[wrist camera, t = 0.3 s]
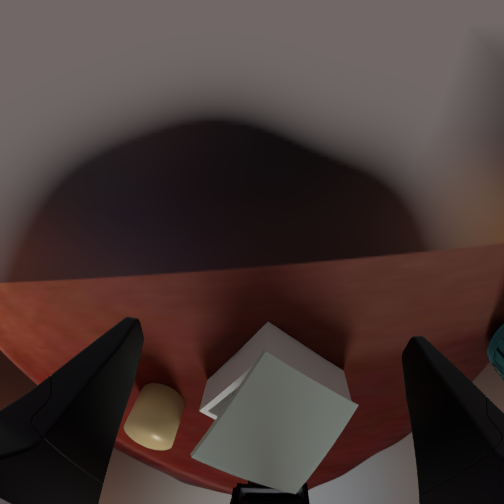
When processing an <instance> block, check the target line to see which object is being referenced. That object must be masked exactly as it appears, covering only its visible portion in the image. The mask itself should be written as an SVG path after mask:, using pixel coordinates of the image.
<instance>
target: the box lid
mask: <svg viewBox="0 0 504 504" xmlns="http://www.w3.org/2000/svg"><path fill="white" fill-rule="evenodd" d="M357 407H358V405H357V404H355V403H354V402H352V401H350V400H348V399H346V398H344V397H342V396H341V395H339V394H337V393H335V392H333V391H332V390H330V389H328V388H326V387H325V386H323V385H321V384H319V383H318V382H316V381H314V380H312V379H311V378H309V377H307V376H305V375H304V374H302V373H300V372H299V371H297V370H295V369H294V368H292V367H290V366H289V365H287V364H285V363H284V362H282V361H281V360H279V359H277V358H276V357H274V356H272V355H271V354H269V353H268V352H266V351H264V350H263V351H262V352H261V354H260V356H259V357H258V359H257V360H256V362H255V363H254V365H253V366H252V368H251V369H250V371H249V372H248V374H247V375H246V377H245V378H244V380H243V381H242V383H241V384H240V386H239V387H238V389H237V390H236V391H235V393H234V394H233V396H232V397H231V399H230V400H229V402H228V403H227V404H226V406H225V407H224V409H223V410H222V412H221V413H220V414H219V416H218V417H217V419H216V420H215V421H214V423H213V424H212V425H211V427H210V428H209V430H208V431H207V432H206V434H205V435H204V436H203V438H202V439H201V441H200V442H199V443H198V445H197V446H196V447H195V449H194V450H193V451H192V453H191V454H190V455H191V458H193V459H196V460H198V461H200V462H202V463H205V464H207V465H209V466H212V467H214V468H217V469H219V470H222V471H224V472H227V473H229V474H232V475H235V476H237V477H240V478H243V479H246V480H249V481H252V482H255V483H258V484H261V485H264V486H268V487H271V488H274V489H278V490H281V491H285V492H289V493H293V494H296V493H297V492H298V491H299V489H300V488H301V487H302V486H303V484H304V483H305V482H306V481H307V479H308V478H309V477H310V476H311V474H312V473H313V472H314V470H315V469H316V468H317V466H318V465H319V464H320V462H321V461H322V460H323V458H324V457H325V456H326V454H327V453H328V451H329V450H330V448H331V447H332V446H333V444H334V443H335V441H336V440H337V438H338V437H339V435H340V434H341V432H342V431H343V429H344V428H345V426H346V425H347V423H348V421H349V420H350V418H351V417H352V415H353V413H354V412H355V410H356V408H357Z"/></svg>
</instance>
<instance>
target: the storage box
mask: <svg viewBox="0 0 504 504" xmlns="http://www.w3.org/2000/svg"><path fill="white" fill-rule="evenodd" d="M263 350H264V351H266V352H268V353H269V354H271V355H272V356H274V357H276V358H277V359H279V360H281V361H282V362H284V363H285V364H287V365H289V366H290V367H292V368H294V369H295V370H297V371H299V372H300V373H302V374H304V375H305V376H307V377H309V378H311V379H312V380H314V381H316V382H318V383H319V384H321V385H323V386H325V387H326V388H328V389H330V390H332V391H333V392H335V393H337V394H339V395H341V396H342V397H344V398H346V399H348V400H350V401H351V397H350V393H349V390H348V386H347V382H346V378H345V374H344V371H343V370H342V369H340V368H338V367H337V366H335V365H334V364H332V363H331V362H329V361H327V360H326V359H324V358H323V357H321V356H320V355H318V354H317V353H315V352H313V351H312V350H310V349H309V348H307V347H306V346H304V345H303V344H301V343H300V342H298V341H297V340H295V339H294V338H292V337H291V336H289V335H288V334H286V333H285V332H283V331H282V330H280V329H279V328H277V327H276V326H274V325H273V324H271V323H270V322H267V323H266V324H265V325H264V326H263V327H262V328H261V329H260V330H259V331H258V332H257V333H256V334H255V335H254V336H253V337H252V338H251V339H250V340H249V341H248V342H247V343H246V344H245V345H244V346H243V347H242V348H241V349H240V350H239V351H238V352H237V353H235V354H234V355H233V356H232V357H231V358H230V359H229V360H228V361H227V362H226V363H225V364H224V365H223V366H222V367H221V368H220V369H219V370H218V371H217V372H216V373H214V374H213V375H212V376H211V377H210V378H209V379H208V380H207V383H206V387H205V391H204V394H203V398H202V402H201V406H200V409H199V411H200V412H202V413H204V414H206V415H208V416H209V417H211V418H213V419H215V420H216V419H217V417H218V416H219V414H220V413H221V412H222V410H223V409H224V407H225V406H226V404H227V403H228V402H229V400H230V399H231V397H232V396H233V394H234V393H235V391H236V390H237V389H238V387H239V386H240V384H241V383H242V381H243V380H244V378H245V377H246V375H247V374H248V372H249V371H250V369H251V368H252V366H253V365H254V363H255V362H256V360H257V359H258V357H259V356H260V354H261V352H262V351H263Z"/></svg>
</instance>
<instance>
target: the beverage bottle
mask: <svg viewBox="0 0 504 504" xmlns="http://www.w3.org/2000/svg"><path fill="white" fill-rule="evenodd" d="M487 355H488V359H489V360H490V362H491V363H492V365H494V366H495V368H496V369H497V370H498V372H499V373H500V375H501V376H502V377H503V378H504V324H503V325H502V326H501V327H500V328H499V329H498V330H497V331H496V333H495V334H494V335H493V337H492V339H491V341H490V343H489V346H488V349H487ZM496 369H495V370H496ZM503 378H502V379H503ZM503 380H504V379H503Z"/></svg>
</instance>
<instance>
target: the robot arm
mask: <svg viewBox="0 0 504 504" xmlns="http://www.w3.org/2000/svg"><path fill="white" fill-rule="evenodd" d="M143 342H144V336H143V332H142V328H141V324H140V321H139V319H137V318H131V317H126V318H124V319H123V320H122V321H121V322H119V323H118V324H117V325H115V326H114V327H113V328H111V329H110V330H109V331H107V332H106V333H105V334H103V335H102V336H101V337H100V338H98V339H97V340H96V341H94V342H93V343H92V344H90V345H89V346H88V347H87V348H85V349H84V350H83V351H81V352H80V353H79V354H77V355H76V356H75V357H74V358H72V359H71V360H70V361H69V362H67V363H66V364H65V365H63V366H62V367H61V368H60V369H58V370H57V371H56V372H55V373H53V374H52V377H51V376H49V377H48V378H47V379H46V380H44V381H43V382H42V383H40V384H39V385H38V386H36V387H35V388H34V389H33V390H31V391H30V392H28V393H27V394H25V395H24V396H22V397H21V398H19V399H18V400H16V401H15V402H13V403H11V404H10V405H8V406H7V407H5V408H4V409H2V410H0V504H98V503H99V498H100V494H101V490H102V487H103V485H102V484H103V482H104V479H105V475H106V471H107V468H108V464H109V461H110V457H111V454H112V450H113V447H114V443H115V440H116V437H117V434H118V430H119V427H120V424H121V421H122V418H123V415H124V411H125V408H126V405H127V402H128V399H129V396H130V393H131V391H132V388H133V384H134V381H135V377H136V373H137V368H138V364H139V359H140V355H141V351H142V346H143ZM402 364H403V373H404V383H405V393H406V399H407V405H408V411H409V416H410V422H411V428H412V434H413V440H414V449H415V457H416V465H417V475H418V486H419V503H420V504H504V413H503V412H502V411H501V410H500V409H499V408H497V407H496V406H495V405H494V404H493V403H492V402H491V401H490V400H489V399H488V398H487V397H486V396H485V395H484V394H483V393H482V392H481V391H480V390H479V389H478V388H477V387H476V386H475V385H474V384H473V383H472V382H471V381H470V380H469V379H468V378H467V377H466V376H465V375H464V374H463V373H462V372H461V371H460V370H459V369H458V368H456V367H455V366H454V365H453V364H452V363H451V362H450V361H449V360H448V359H447V358H446V357H445V356H444V355H443V354H442V353H440V352H439V351H438V350H437V349H436V348H435V347H434V346H433V345H432V344H431V343H430V342H428V341H427V340H426V339H425V338H424V337H422V336H414V337H412V338H411V339H410V340H409V342H408V344H407V346H406V347H405V349H404V351H403V353H402ZM230 504H309V496H308V488H307V483H304V484H303V486H302V487H301V488H300V489H299V491H298V492H297V493H296V494H293V493H289V492H285V491H281V490H278V489H274V488H271V487H268V486H264V485H261V484H258V483H255V482H252V481H249V480H248V484H242V483H237V487H235V488H233V492H232V498H231V502H230Z"/></svg>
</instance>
